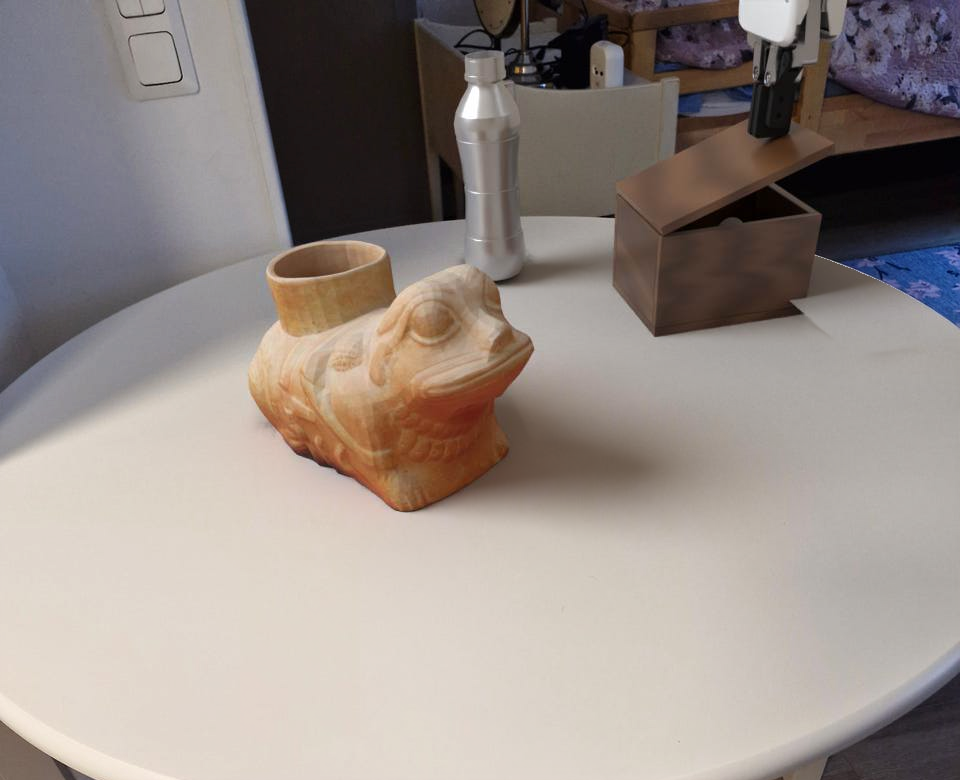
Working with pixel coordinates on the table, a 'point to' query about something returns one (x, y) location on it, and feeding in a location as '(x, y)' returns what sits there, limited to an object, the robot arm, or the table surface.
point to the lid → (718, 173)
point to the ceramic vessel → (386, 370)
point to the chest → (717, 263)
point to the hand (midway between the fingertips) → (767, 134)
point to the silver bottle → (490, 168)
